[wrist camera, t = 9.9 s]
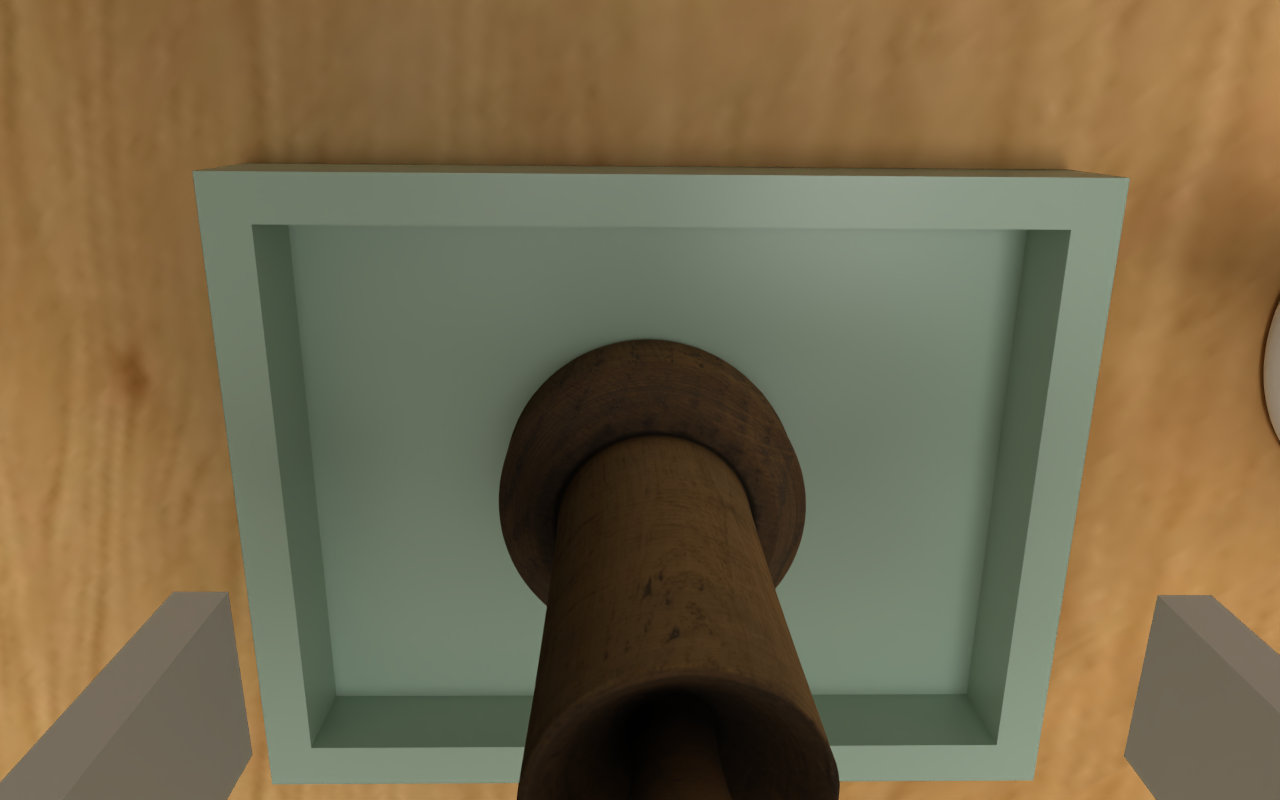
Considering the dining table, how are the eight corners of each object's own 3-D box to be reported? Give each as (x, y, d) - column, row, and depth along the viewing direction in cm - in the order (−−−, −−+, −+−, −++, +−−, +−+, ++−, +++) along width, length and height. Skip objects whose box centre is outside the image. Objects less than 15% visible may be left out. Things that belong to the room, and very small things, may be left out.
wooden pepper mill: (823, 370, 21) (1685, 1484, 4) (752, 618, 23) (1134, 2101, 6) (535, 310, 21) (114, 1293, 4) (486, 568, 23) (51, 2042, 5)
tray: (245, 163, 20) (192, 171, 18) (1068, 169, 21) (1129, 178, 18) (308, 715, 24) (272, 784, 22) (992, 713, 25) (1033, 780, 22)
